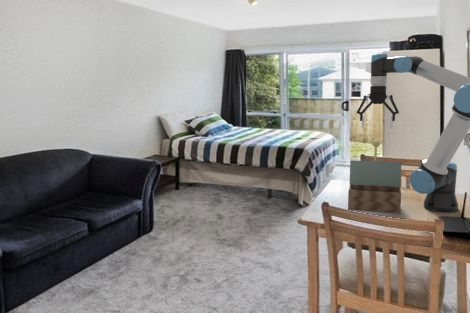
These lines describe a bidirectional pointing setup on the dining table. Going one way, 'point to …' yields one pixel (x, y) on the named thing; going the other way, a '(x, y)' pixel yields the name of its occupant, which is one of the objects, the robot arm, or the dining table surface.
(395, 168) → the box lid
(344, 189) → the dining table surface
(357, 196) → the storage box
